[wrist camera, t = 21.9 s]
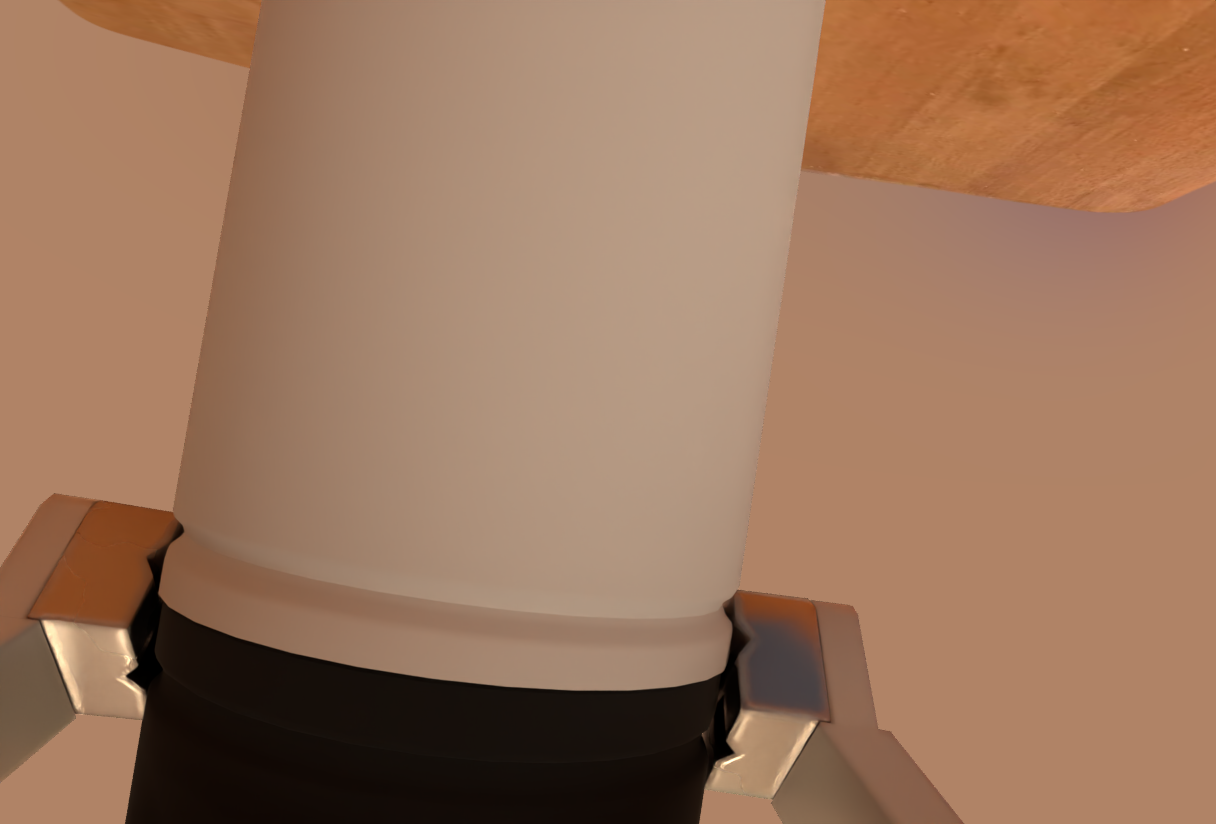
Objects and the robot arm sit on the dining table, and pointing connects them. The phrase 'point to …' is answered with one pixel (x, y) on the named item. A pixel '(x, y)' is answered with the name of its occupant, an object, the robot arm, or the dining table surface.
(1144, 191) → the dining table surface
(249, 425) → the travel mug
